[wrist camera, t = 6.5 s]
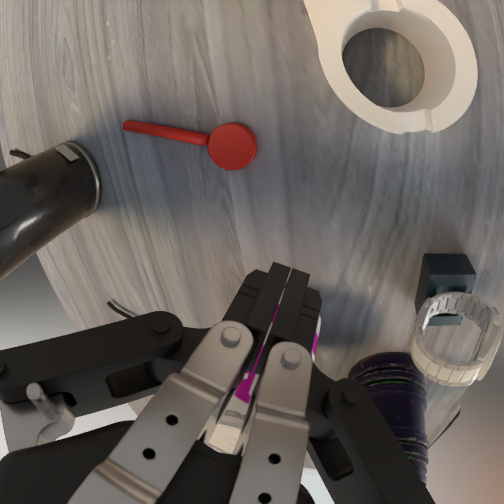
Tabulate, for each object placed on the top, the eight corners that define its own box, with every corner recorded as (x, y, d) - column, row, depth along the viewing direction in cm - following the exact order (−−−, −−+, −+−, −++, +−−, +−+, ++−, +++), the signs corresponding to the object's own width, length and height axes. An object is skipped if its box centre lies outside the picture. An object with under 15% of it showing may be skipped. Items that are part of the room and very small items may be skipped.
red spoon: (126, 142, 25) (119, 145, 25) (128, 104, 23) (121, 106, 22) (252, 172, 24) (248, 176, 23) (261, 128, 22) (258, 130, 21)
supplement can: (251, 272, 29) (182, 403, 17) (333, 297, 28) (307, 444, 15) (239, 326, 33) (185, 440, 21) (308, 349, 32) (276, 471, 20)
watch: (469, 302, 23) (497, 393, 14) (397, 303, 26) (405, 401, 17) (483, 254, 20) (529, 343, 12) (405, 252, 23) (426, 351, 14)
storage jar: (439, 362, 28) (446, 506, 13) (397, 402, 33) (386, 523, 19) (370, 342, 29) (353, 506, 14) (334, 387, 35) (306, 517, 20)
